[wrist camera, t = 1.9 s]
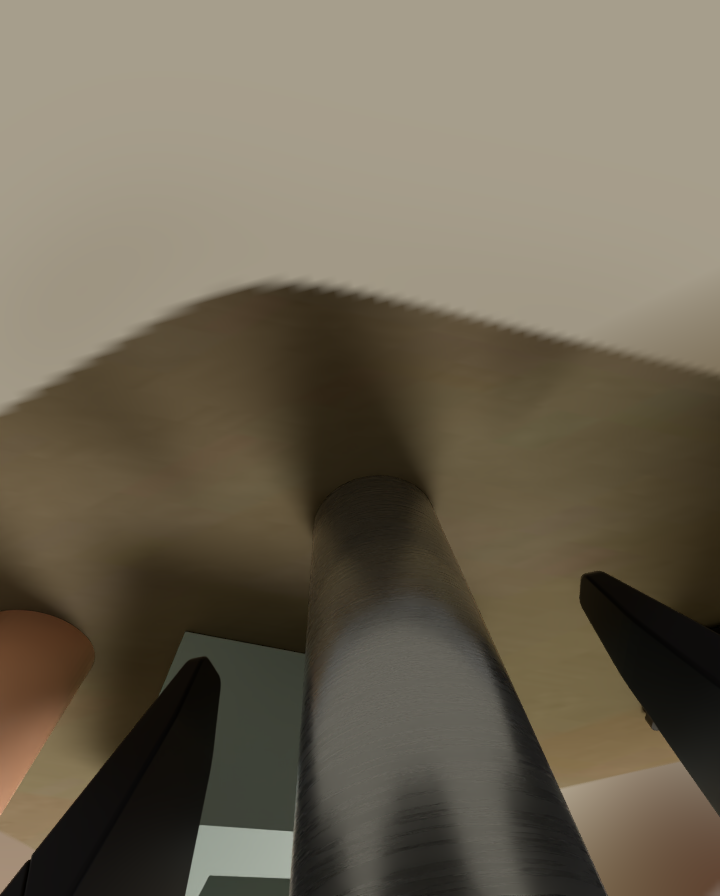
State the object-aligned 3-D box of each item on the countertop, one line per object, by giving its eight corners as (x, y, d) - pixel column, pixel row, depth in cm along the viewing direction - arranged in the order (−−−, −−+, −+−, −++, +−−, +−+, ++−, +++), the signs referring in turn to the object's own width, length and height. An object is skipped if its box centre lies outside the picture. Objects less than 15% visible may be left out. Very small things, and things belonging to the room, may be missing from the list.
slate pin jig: (467, 684, 16) (523, 848, 11) (364, 813, 20) (374, 967, 16) (185, 631, 13) (108, 818, 8) (138, 793, 17) (71, 973, 13)
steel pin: (427, 463, 11) (722, 1022, 3) (441, 560, 12) (648, 1082, 4) (298, 491, 11) (205, 1118, 3) (330, 585, 13) (331, 1138, 4)
